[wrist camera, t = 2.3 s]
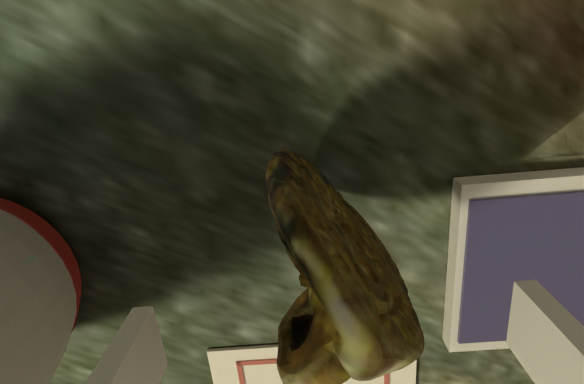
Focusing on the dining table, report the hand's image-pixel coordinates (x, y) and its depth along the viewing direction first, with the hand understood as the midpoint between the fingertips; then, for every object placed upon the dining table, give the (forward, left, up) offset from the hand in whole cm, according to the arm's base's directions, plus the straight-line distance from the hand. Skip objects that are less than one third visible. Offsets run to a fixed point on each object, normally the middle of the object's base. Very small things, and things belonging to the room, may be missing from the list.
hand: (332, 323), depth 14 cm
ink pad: (+6, +16, -12) cm, 21 cm away
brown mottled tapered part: (0, 0, -12) cm, 12 cm away
